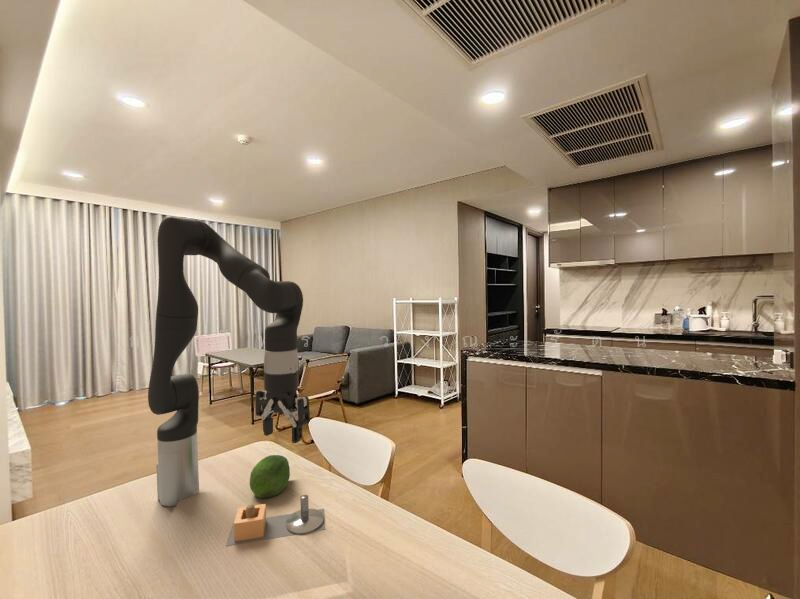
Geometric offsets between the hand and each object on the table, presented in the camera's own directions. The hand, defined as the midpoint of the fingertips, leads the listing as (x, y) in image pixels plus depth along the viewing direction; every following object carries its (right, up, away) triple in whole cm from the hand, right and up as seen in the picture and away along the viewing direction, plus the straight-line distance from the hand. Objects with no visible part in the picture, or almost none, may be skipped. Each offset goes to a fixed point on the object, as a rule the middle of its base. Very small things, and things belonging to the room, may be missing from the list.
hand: (282, 438), depth 85 cm
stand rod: (-7, -21, -1) cm, 22 cm away
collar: (-7, -21, -1) cm, 22 cm away
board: (-1, -22, 0) cm, 22 cm away
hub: (+5, -20, +2) cm, 21 cm away
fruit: (-8, -22, +18) cm, 29 cm away
